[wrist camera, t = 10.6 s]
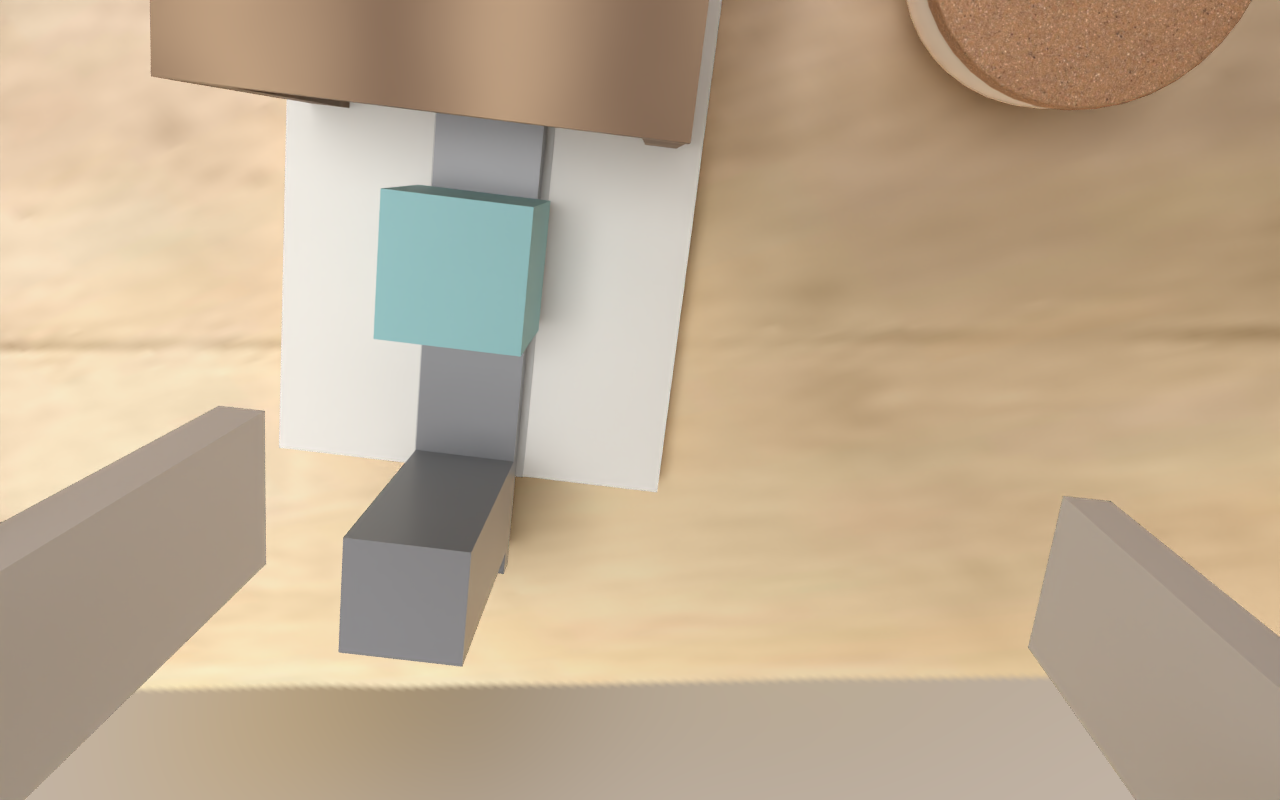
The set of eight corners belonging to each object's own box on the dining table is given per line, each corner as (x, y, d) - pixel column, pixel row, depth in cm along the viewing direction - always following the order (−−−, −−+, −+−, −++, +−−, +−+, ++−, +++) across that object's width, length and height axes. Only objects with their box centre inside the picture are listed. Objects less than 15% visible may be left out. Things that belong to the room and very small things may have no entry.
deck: (768, -367, 33) (775, -401, 31) (656, 476, 41) (657, 493, 39) (320, -426, 33) (298, -466, 31) (297, 433, 41) (278, 448, 39)
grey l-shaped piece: (547, 118, 35) (507, 101, 25) (507, 563, 40) (459, 693, 30) (443, 105, 35) (361, 83, 25) (414, 553, 40) (337, 679, 30)
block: (550, 200, 35) (534, 207, 30) (538, 330, 36) (520, 356, 31) (418, 184, 35) (380, 188, 30) (411, 315, 36) (373, 339, 31)
